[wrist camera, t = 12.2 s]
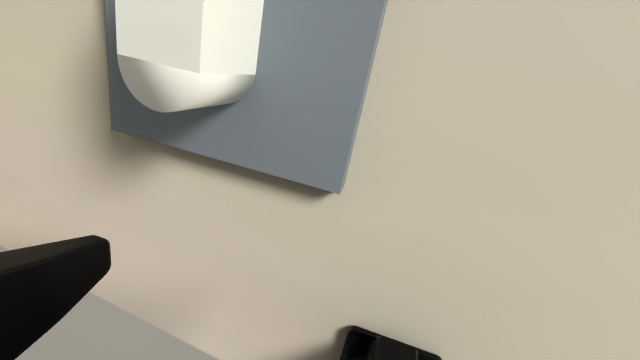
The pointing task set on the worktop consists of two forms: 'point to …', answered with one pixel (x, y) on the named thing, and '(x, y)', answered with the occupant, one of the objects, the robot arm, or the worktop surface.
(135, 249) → the worktop surface
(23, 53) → the worktop surface
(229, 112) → the slate mat
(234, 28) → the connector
